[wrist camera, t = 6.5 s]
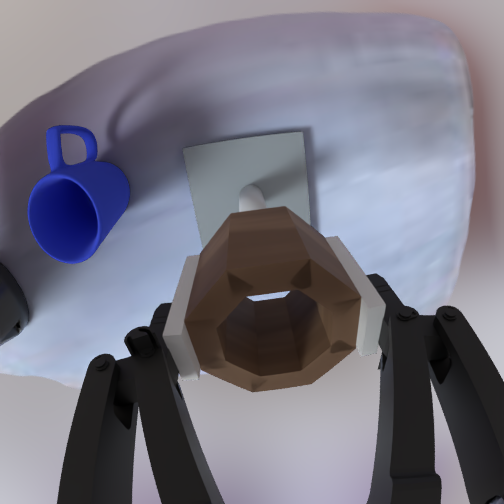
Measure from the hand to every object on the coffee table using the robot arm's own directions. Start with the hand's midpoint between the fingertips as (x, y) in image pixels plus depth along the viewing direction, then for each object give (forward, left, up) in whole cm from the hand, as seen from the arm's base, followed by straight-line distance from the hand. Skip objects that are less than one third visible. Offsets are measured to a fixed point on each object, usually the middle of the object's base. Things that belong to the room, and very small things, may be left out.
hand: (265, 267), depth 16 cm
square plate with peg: (0, 0, -16) cm, 16 cm away
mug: (-16, +6, -16) cm, 23 cm away
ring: (0, 0, 0) cm, 0 cm away
